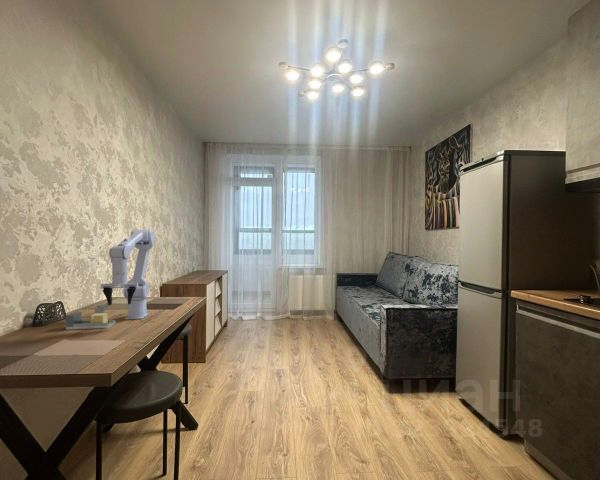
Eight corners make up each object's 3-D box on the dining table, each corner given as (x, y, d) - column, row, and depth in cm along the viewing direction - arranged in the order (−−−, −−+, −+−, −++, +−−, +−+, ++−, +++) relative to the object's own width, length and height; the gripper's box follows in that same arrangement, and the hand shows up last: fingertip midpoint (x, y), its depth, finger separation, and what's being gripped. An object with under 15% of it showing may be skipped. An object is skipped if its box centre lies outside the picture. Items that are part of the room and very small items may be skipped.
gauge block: (95, 322, 141) (95, 313, 141) (107, 321, 142) (107, 313, 142) (90, 325, 137) (90, 316, 136) (102, 324, 137) (102, 315, 137)
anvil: (74, 323, 141) (74, 312, 141) (81, 323, 141) (81, 311, 141) (65, 327, 135) (65, 315, 135) (73, 327, 135) (73, 315, 135)
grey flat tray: (76, 324, 143) (76, 319, 143) (116, 322, 146) (116, 317, 146) (65, 329, 135) (65, 324, 135) (107, 327, 137) (107, 322, 137)
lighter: (94, 316, 157) (94, 300, 157) (95, 315, 159) (95, 299, 158) (111, 315, 160) (111, 299, 160) (111, 314, 162) (111, 298, 162)
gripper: (97, 274, 133) (97, 307, 133) (135, 273, 137) (135, 305, 136) (103, 273, 140) (104, 303, 140) (139, 272, 143) (139, 302, 143)
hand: (119, 304), depth 139 cm, fingers open, 7 cm apart
